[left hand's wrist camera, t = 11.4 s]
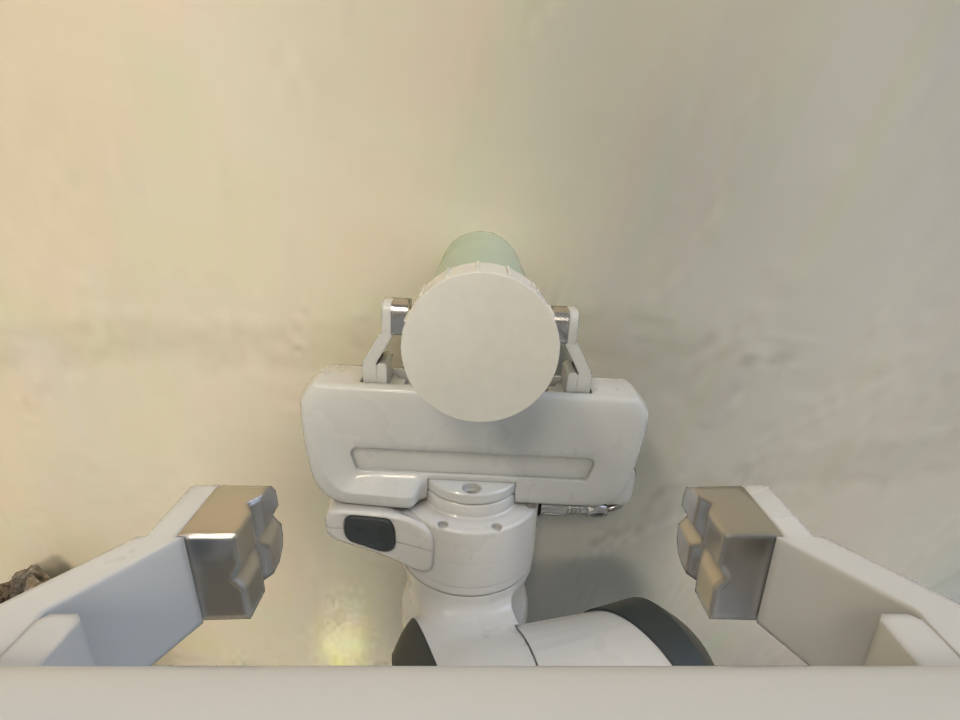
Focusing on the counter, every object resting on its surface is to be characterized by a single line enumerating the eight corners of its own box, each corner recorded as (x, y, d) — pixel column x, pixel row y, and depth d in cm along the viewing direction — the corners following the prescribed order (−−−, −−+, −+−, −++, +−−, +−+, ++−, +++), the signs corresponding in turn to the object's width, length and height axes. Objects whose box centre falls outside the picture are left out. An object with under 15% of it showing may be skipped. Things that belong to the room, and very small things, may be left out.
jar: (489, 214, 33) (496, 252, 19) (535, 280, 35) (573, 362, 20) (424, 262, 35) (385, 332, 20) (471, 324, 36) (465, 431, 22)
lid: (498, 229, 20) (500, 236, 18) (581, 351, 22) (591, 368, 20) (376, 318, 22) (366, 333, 20) (464, 426, 23) (463, 449, 21)
